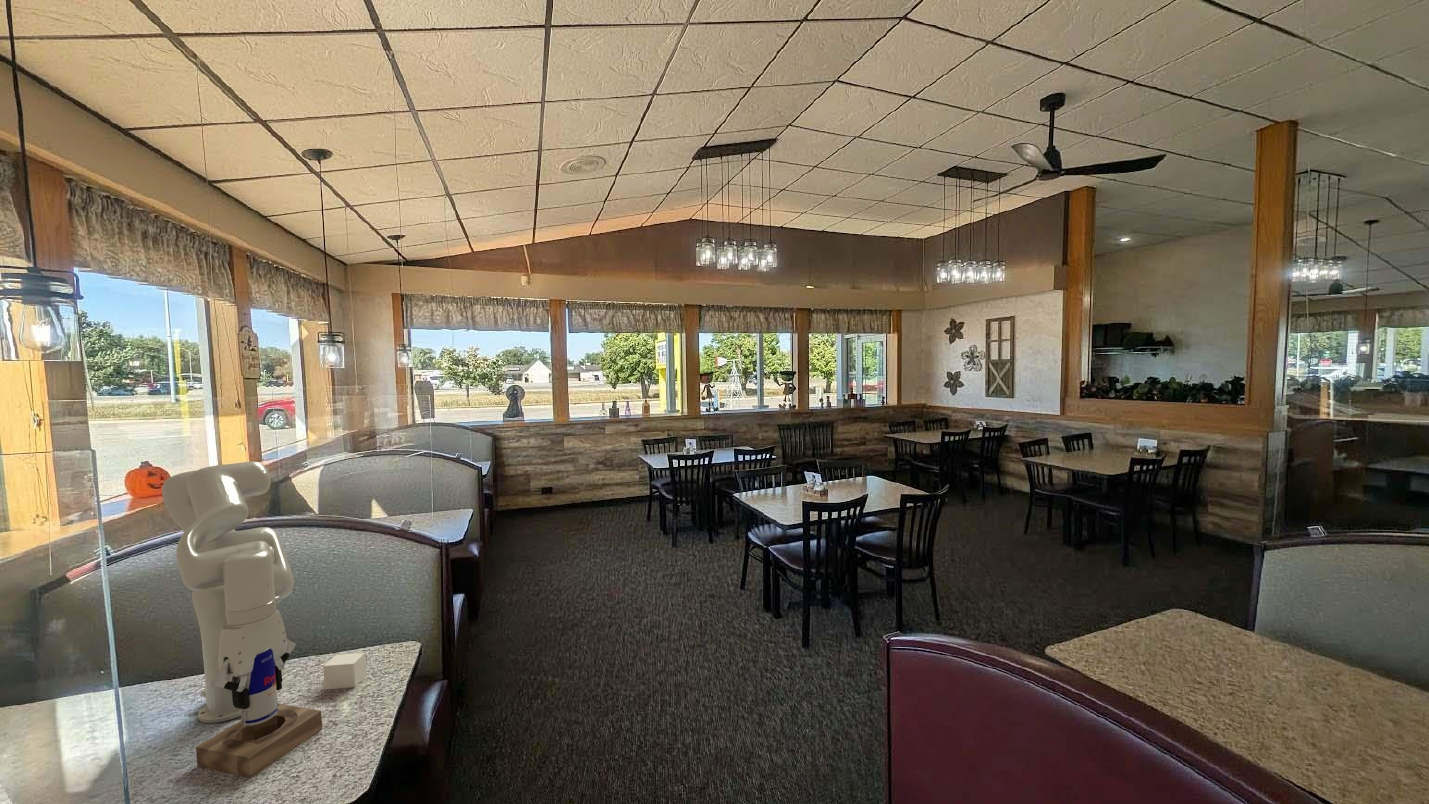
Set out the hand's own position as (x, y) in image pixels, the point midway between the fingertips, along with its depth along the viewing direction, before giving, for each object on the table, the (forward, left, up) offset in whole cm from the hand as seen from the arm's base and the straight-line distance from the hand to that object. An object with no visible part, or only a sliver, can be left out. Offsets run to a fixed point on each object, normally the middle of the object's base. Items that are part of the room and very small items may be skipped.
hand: (258, 697), depth 107 cm
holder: (0, 0, -11) cm, 11 cm away
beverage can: (0, 0, -5) cm, 5 cm away
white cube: (-4, +22, -11) cm, 25 cm away
